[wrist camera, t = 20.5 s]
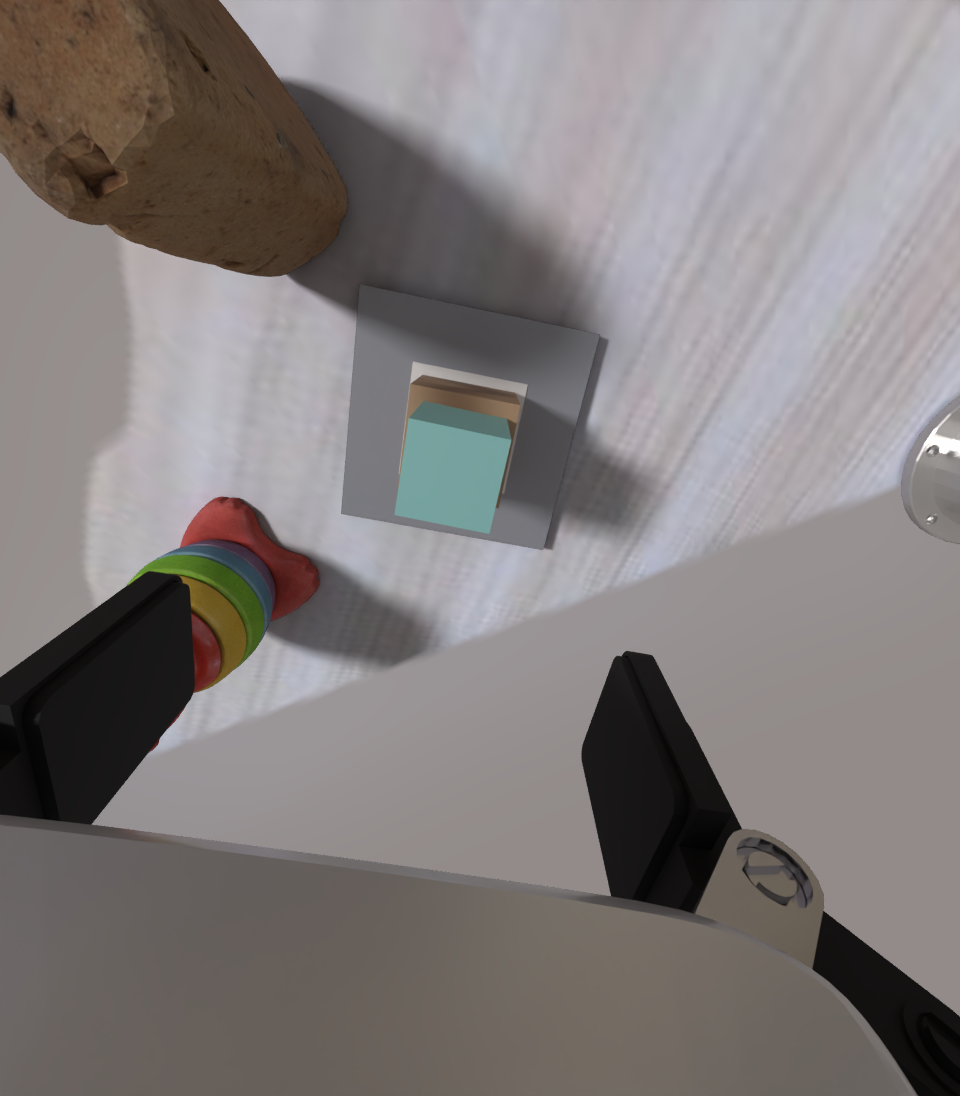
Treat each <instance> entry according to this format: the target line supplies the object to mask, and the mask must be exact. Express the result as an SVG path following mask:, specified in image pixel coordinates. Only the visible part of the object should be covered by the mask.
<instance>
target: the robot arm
mask: <svg viewBox="0 0 960 1096" xmlns="http://www.w3.org/2000/svg"><path fill="white" fill-rule="evenodd" d="M901 496H902V500H903V503H904V507H905V510H906V512H907V513H908V515H909V517H910V519H911V520H912V521H913V522H914V523H915V524H916V525H917V526H918V527H919V528H920V529H921V530H923V531H925V532H927V533H928V534H930V535H932V536H934V537H937V538H939V539H942V540H944V541H946V542H951V543H957V544H960V396H959V397H958V398H956V399H955V400H954V401H952V402H951V403H949V404H948V405H947V406H946V407H945V408H944V409H943V410H942V411H940V412H939V413H938V414H937V415H936V416H935V417H934V418H933V419H932V420H931V421H930V423H929V424H928V425H927V426H926V428H925V429H924V430H923V431H922V433H921V434H920V435H919V437H918V439H917V440H916V442H915V444H914V445H913V447H912V449H911V451H910V453H909V456H908V458H907V461H906V463H905V466H904V470H903V476H902V481H901ZM194 688H195V672H194V654H193V635H192V616H191V598H190V588H189V586H188V585H187V584H185V583H183V581H182V579H181V577H180V576H178V575H172V574H167V573H161V572H155V571H148V572H146V573H144V574H143V575H141V576H140V577H139V578H137V579H136V580H134V581H133V582H132V583H130V584H129V585H127V586H126V587H125V588H123V589H122V590H121V591H119V592H118V593H116V594H115V595H114V596H112V597H111V598H109V599H108V600H107V601H105V602H104V603H103V604H101V605H100V606H98V607H97V608H96V609H94V610H93V611H91V612H90V613H89V614H87V615H86V616H85V617H83V618H82V619H80V620H79V621H78V622H76V623H75V624H74V625H72V626H71V627H69V628H68V629H67V630H65V631H64V632H62V633H61V634H60V635H58V636H57V637H56V638H54V639H53V640H51V641H50V642H49V643H47V644H46V645H45V646H43V647H42V648H40V649H39V650H38V651H36V652H35V653H33V654H32V655H31V656H29V657H28V658H27V659H25V660H24V661H22V662H21V663H20V664H18V665H17V666H15V667H14V668H13V669H11V670H10V671H9V672H7V673H6V674H4V675H3V676H2V677H0V1096H960V1017H959V1016H958V1015H957V1014H956V1013H955V1012H953V1010H951V1009H950V1008H949V1007H947V1006H946V1005H945V1004H943V1003H942V1002H941V1001H940V1000H938V999H937V998H935V997H934V996H933V995H932V994H930V993H929V992H928V991H927V990H925V989H924V988H923V987H921V986H920V985H919V984H918V983H916V982H915V981H914V980H912V979H911V978H910V977H908V976H907V975H906V974H905V973H903V972H902V971H901V970H899V969H898V968H897V967H896V966H894V965H893V964H892V963H890V962H889V961H888V960H886V959H885V958H883V956H881V955H880V954H879V953H877V952H876V951H875V950H873V949H872V948H871V947H869V946H868V945H867V944H866V943H864V942H863V941H862V940H860V939H859V938H858V937H857V936H855V935H854V934H852V933H851V932H850V931H849V930H848V929H846V928H845V927H844V926H842V925H841V924H840V923H838V922H837V921H836V920H835V919H833V918H832V917H831V916H829V915H828V914H827V913H825V912H824V911H823V909H824V894H823V891H822V889H821V887H820V884H819V881H818V879H817V878H816V876H815V875H814V873H813V872H812V870H811V869H810V867H809V866H808V865H807V864H806V863H805V862H804V861H803V859H802V858H801V857H800V856H799V855H798V854H797V853H796V852H794V851H793V850H792V849H791V848H789V847H788V846H787V845H785V844H784V843H783V842H781V841H779V840H778V839H776V838H774V837H772V836H770V835H769V834H766V833H763V832H760V831H757V830H749V829H742V828H741V826H740V824H739V822H738V820H737V818H736V816H735V814H734V812H733V810H732V808H731V806H730V804H729V802H728V800H727V799H726V796H725V794H724V793H723V790H722V788H721V787H720V785H719V783H718V781H717V779H716V777H715V775H714V773H713V771H712V769H711V767H710V765H709V763H708V761H707V759H706V757H705V755H704V753H703V751H702V749H701V747H700V745H699V743H698V741H697V739H696V737H695V735H694V733H693V731H692V729H691V728H690V726H689V725H688V723H687V722H686V720H685V718H684V716H683V714H682V712H681V711H680V708H679V706H678V705H677V702H676V700H675V698H674V696H673V694H672V692H671V690H670V689H669V686H668V685H667V683H666V681H665V679H664V677H663V675H662V673H661V671H660V669H659V667H658V665H657V663H656V661H655V659H654V657H653V656H652V655H648V654H642V653H636V652H630V651H626V652H624V653H623V655H622V657H621V656H616V657H615V658H614V660H613V662H612V665H611V668H610V671H609V674H608V676H607V679H606V682H605V685H604V687H603V690H602V693H601V696H600V698H599V701H598V704H597V707H596V709H595V712H594V715H593V718H592V720H591V723H590V726H589V729H588V732H587V734H586V737H585V740H584V742H583V746H582V763H583V769H584V773H585V777H586V782H587V787H588V792H589V796H590V801H591V805H592V810H593V814H594V819H595V823H596V828H597V833H598V838H599V842H600V847H601V851H602V855H603V860H604V865H605V870H606V875H607V879H608V884H609V888H610V893H611V896H605V895H598V894H592V893H586V892H580V891H573V890H567V889H561V888H555V887H548V886H541V885H533V884H527V883H520V882H513V881H506V880H499V879H491V878H485V877H477V876H470V875H463V874H455V873H449V872H442V871H434V870H428V869H421V868H414V867H406V866H399V865H392V864H385V863H377V862H370V861H363V860H355V859H348V858H341V857H333V856H326V855H318V854H310V853H304V852H296V851H289V850H282V849H274V848H266V847H259V846H251V845H244V844H237V843H229V842H221V841H214V840H205V839H198V838H191V837H183V836H175V835H167V834H159V833H152V832H144V831H136V830H129V829H121V828H113V827H105V826H98V825H91V824H92V823H93V822H94V820H95V819H96V818H97V817H98V815H99V814H100V813H101V812H102V810H103V809H104V808H105V807H106V805H107V804H108V803H109V802H110V800H111V799H112V798H113V797H114V795H115V794H116V793H117V792H118V790H119V789H120V788H121V786H122V785H123V784H124V783H125V781H126V780H127V779H128V778H129V776H130V775H131V774H132V773H133V771H134V770H135V769H136V767H137V766H138V765H139V764H140V763H141V761H142V760H143V759H144V758H145V756H146V755H147V754H148V752H149V751H150V750H151V749H152V747H153V746H154V745H155V744H156V742H157V741H158V740H159V739H160V737H161V736H162V735H163V734H164V732H165V731H166V730H167V729H168V727H169V726H170V725H171V723H172V722H173V721H174V720H175V718H176V717H177V716H178V715H179V713H180V712H181V711H182V710H183V708H184V707H185V706H186V705H187V703H188V702H189V700H190V699H191V697H192V695H193V692H194Z"/></svg>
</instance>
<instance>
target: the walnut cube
mask: <svg viewBox="0 0 960 1096" xmlns="http://www.w3.org/2000/svg"><path fill="white" fill-rule="evenodd" d="M423 401H427V402H432V403H436V404H441V405H446V406H450V407H455V408H459V409H464V410H469V411H473V412H478V413H483V414H487V415H492V416H496V417H501V418H506V419H507V421H508V426H509V431H510V436H511V444H510V448H509V453H508V457H507V461H506V465H505V470H504V474H503V478H502V482H501V487H500V491H499V495H498V499H497V504H496V508H498V509H499V505H500V500H501V496H502V491H503V486H504V481H505V477H506V472H507V467H508V462H509V458H510V453H511V448H512V444H513V439H514V434H515V429H516V425H517V420H518V415H519V411H520V406H521V405H520V403H519V400H518V398H517V395H516V393H515V392H509V391H504V390H499V389H494V388H489V387H484V386H479V385H474V384H468V383H463V382H458V381H453V380H448V379H443V378H438V377H432V376H427V375H421V376H420V377H419V378H417V379H416V380H415V381H413V382H412V383H411V384H410V391H409V399H408V407H407V415H406V423H405V431H404V440H403V448H402V456H401V464H400V472H399V480H400V474H401V467H402V460H403V454H404V447H405V440H406V433H407V427H408V420H409V417H410V416H411V415H412V414H413V412H414V411H415V410H416V409H417V408H418V407H419V405H420V404H421V403H422V402H423ZM399 480H398V487H399ZM397 490H398V489H397Z"/></svg>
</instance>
